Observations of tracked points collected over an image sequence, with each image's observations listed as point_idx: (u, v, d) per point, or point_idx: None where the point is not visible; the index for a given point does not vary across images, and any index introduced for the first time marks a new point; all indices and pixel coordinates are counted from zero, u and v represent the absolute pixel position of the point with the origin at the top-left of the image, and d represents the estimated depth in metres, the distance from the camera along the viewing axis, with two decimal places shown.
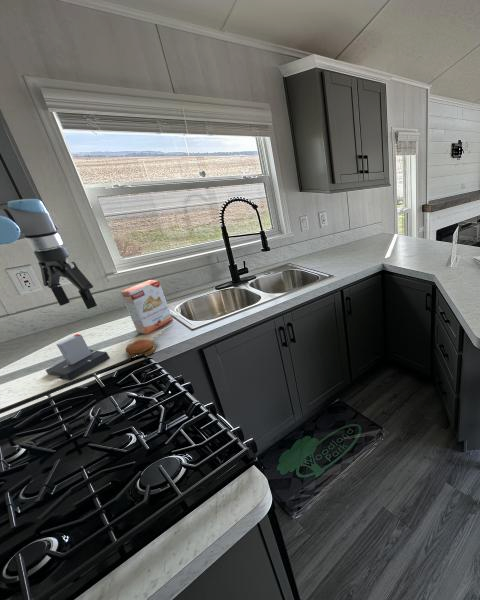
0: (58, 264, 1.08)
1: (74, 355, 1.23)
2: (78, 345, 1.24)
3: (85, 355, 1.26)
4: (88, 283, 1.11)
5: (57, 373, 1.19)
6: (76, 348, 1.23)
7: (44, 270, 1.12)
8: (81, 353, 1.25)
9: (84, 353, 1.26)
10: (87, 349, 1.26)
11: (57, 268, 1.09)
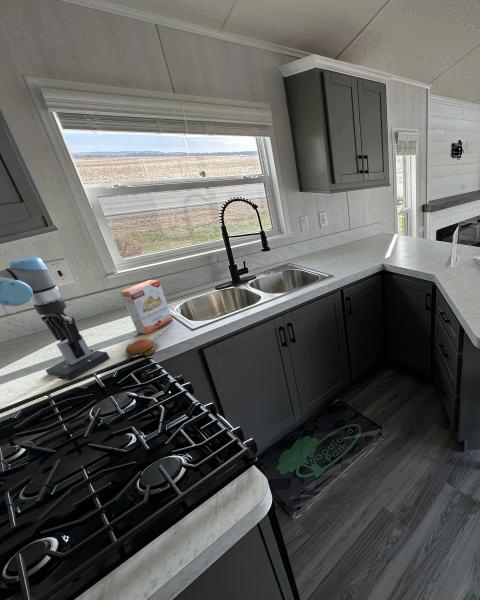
0: (56, 315, 1.15)
1: (74, 355, 1.23)
2: None
3: (85, 355, 1.26)
4: (78, 337, 1.20)
5: (57, 373, 1.19)
6: None
7: (48, 323, 1.19)
8: None
9: None
10: (87, 349, 1.26)
11: (55, 319, 1.16)
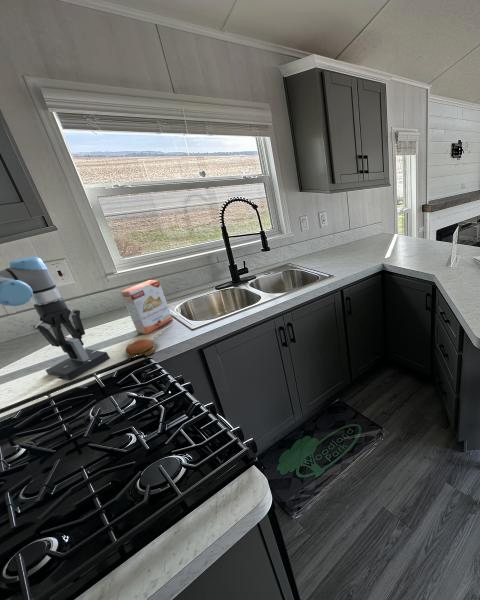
0: (65, 310, 1.19)
1: None
2: None
3: None
4: None
5: (57, 373, 1.19)
6: None
7: (47, 330, 1.15)
8: None
9: None
10: None
11: (66, 314, 1.19)
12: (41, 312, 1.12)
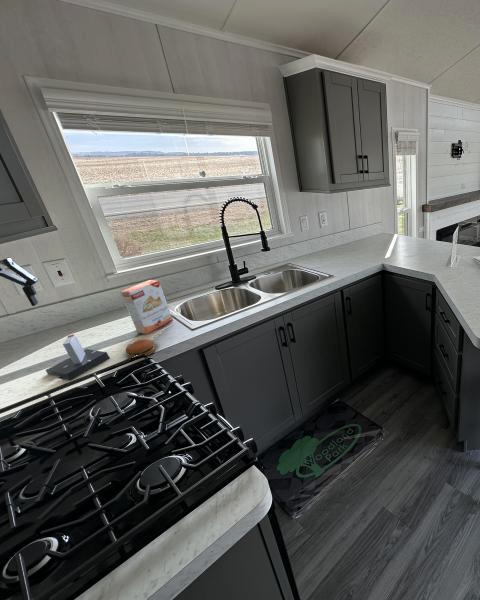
0: None
1: (79, 354, 1.23)
2: (77, 344, 1.24)
3: (83, 354, 1.27)
4: (33, 277, 1.08)
5: (57, 373, 1.19)
6: (77, 347, 1.24)
7: None
8: (81, 352, 1.25)
9: (82, 352, 1.26)
10: (82, 348, 1.27)
11: None
12: None
